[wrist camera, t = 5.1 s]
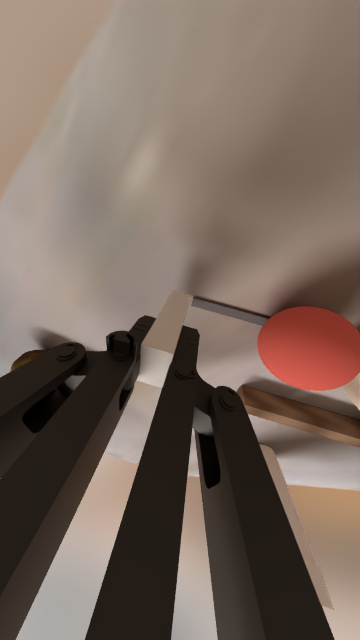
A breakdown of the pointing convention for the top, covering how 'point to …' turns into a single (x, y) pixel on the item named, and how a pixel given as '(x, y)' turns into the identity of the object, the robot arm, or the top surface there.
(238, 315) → the thin gray bar
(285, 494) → the foam cup
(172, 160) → the top surface
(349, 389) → the pin
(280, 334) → the ball
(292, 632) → the robot arm
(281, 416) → the rail
